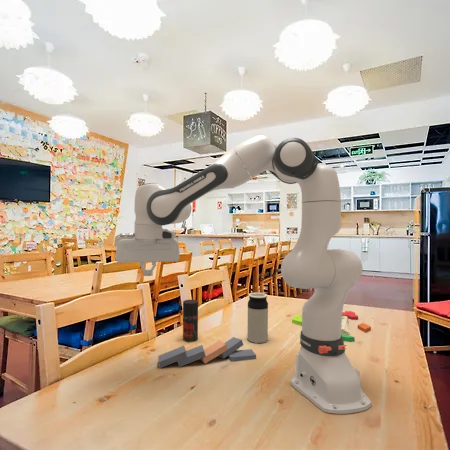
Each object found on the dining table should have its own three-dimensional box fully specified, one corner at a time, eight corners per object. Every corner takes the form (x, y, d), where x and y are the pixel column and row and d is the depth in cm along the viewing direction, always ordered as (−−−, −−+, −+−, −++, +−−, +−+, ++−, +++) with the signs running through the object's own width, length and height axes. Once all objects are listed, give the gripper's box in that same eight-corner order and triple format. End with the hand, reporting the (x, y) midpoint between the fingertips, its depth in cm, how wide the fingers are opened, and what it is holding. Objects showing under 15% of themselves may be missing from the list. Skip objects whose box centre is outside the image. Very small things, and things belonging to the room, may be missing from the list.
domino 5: (227, 357, 109) (251, 354, 111) (230, 363, 104) (256, 360, 106) (227, 351, 109) (251, 349, 111) (230, 357, 104) (256, 355, 106)
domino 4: (215, 355, 108) (235, 342, 114) (224, 358, 104) (243, 345, 110) (214, 349, 108) (233, 337, 113) (222, 353, 104) (241, 339, 109)
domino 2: (178, 360, 105) (203, 350, 106) (179, 366, 100) (205, 356, 101) (176, 354, 104) (202, 344, 106) (177, 361, 100) (204, 350, 101)
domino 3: (199, 358, 106) (221, 345, 110) (205, 363, 101) (227, 349, 105) (197, 353, 106) (219, 340, 109) (203, 358, 101) (226, 344, 105)
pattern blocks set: (383, 345, 119) (383, 337, 119) (294, 339, 125) (294, 331, 125) (357, 315, 157) (357, 309, 157) (290, 311, 162) (290, 305, 162)
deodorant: (180, 337, 124) (180, 300, 124) (194, 335, 127) (194, 298, 126) (185, 343, 119) (186, 304, 118) (200, 340, 122) (200, 302, 121)
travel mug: (266, 344, 118) (267, 297, 118) (246, 342, 120) (246, 296, 119) (268, 336, 126) (268, 292, 125) (248, 335, 127) (249, 291, 127)
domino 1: (160, 361, 104) (185, 350, 105) (160, 368, 99) (186, 357, 100) (158, 355, 103) (184, 345, 105) (158, 362, 98) (185, 351, 100)
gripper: (113, 233, 96) (113, 278, 96) (180, 233, 100) (179, 276, 100) (116, 232, 102) (115, 274, 102) (178, 232, 106) (178, 272, 106)
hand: (148, 275), depth 101 cm, fingers closed
